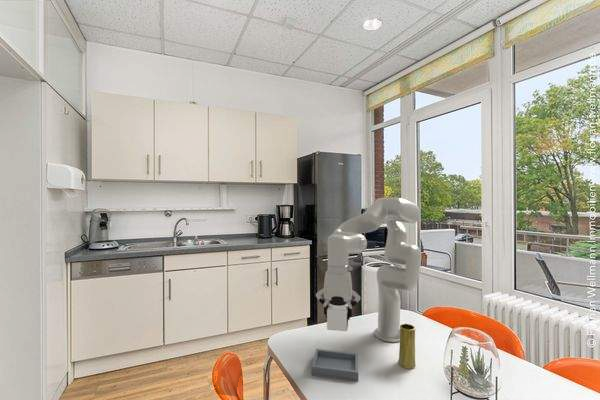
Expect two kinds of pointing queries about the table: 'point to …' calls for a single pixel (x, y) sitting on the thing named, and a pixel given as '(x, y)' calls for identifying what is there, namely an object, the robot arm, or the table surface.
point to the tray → (335, 364)
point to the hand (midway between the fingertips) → (337, 317)
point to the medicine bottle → (337, 314)
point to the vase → (407, 346)
